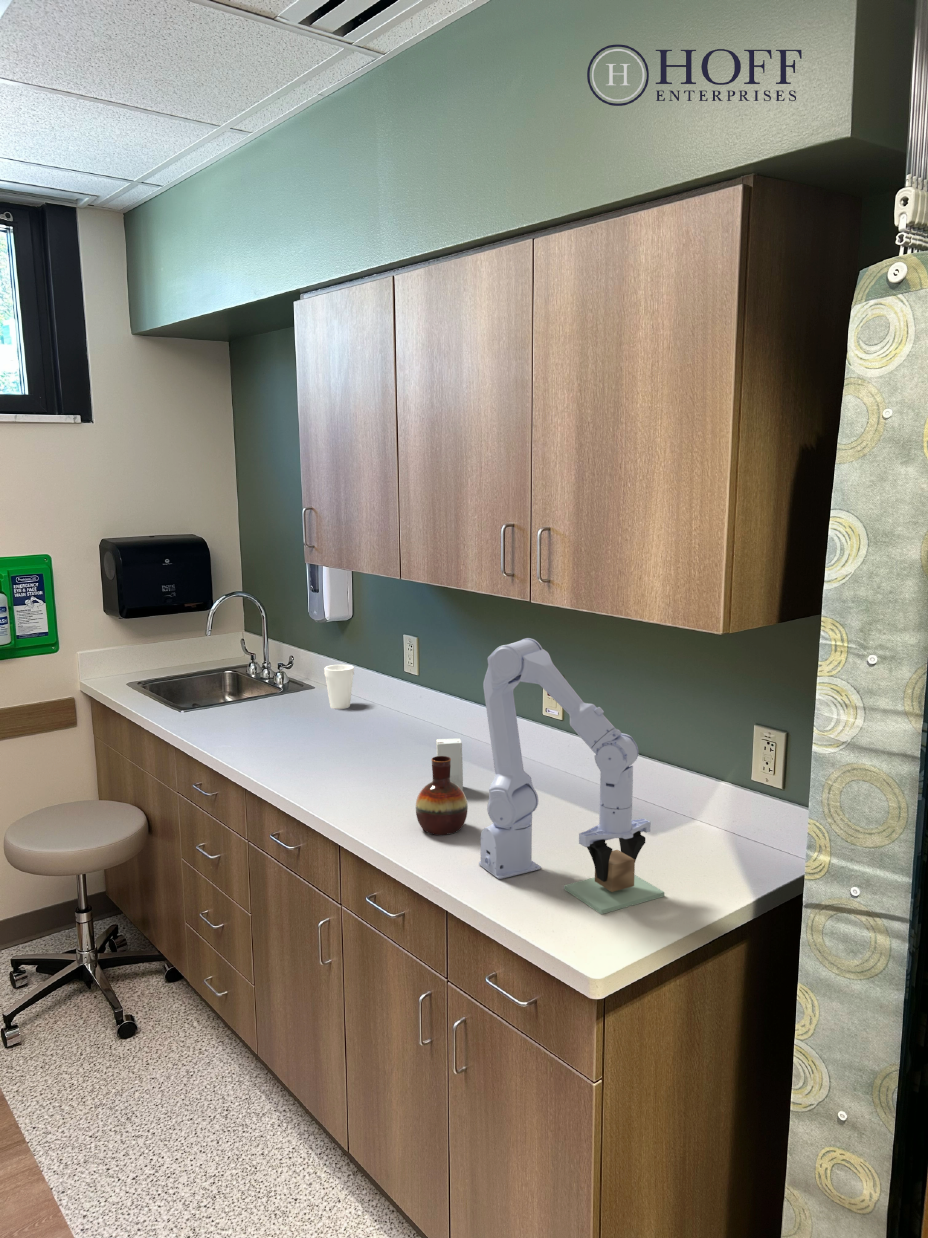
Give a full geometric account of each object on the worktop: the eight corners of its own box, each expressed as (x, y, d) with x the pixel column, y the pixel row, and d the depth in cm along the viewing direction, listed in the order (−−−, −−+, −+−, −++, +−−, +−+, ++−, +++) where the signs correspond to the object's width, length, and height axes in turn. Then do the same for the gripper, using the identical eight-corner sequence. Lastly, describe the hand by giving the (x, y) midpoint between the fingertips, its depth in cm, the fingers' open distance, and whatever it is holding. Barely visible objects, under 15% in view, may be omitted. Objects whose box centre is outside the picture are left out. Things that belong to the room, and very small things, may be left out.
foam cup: (323, 704, 304) (322, 665, 302) (351, 702, 306) (350, 663, 304) (328, 711, 295) (327, 671, 293) (356, 709, 297) (355, 669, 295)
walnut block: (611, 892, 163) (612, 865, 162) (594, 881, 167) (595, 855, 166) (634, 886, 165) (634, 859, 164) (616, 875, 169) (617, 849, 169)
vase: (406, 833, 194) (405, 763, 192) (430, 815, 204) (429, 748, 202) (454, 841, 190) (454, 769, 187) (475, 823, 200) (475, 754, 197)
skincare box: (461, 785, 224) (461, 737, 222) (463, 791, 220) (463, 742, 218) (436, 786, 223) (435, 738, 221) (437, 792, 219) (437, 743, 217)
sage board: (601, 914, 158) (601, 910, 158) (564, 889, 168) (564, 885, 168) (664, 896, 165) (664, 892, 165) (625, 873, 174) (625, 869, 174)
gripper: (596, 818, 157) (595, 893, 159) (662, 803, 164) (660, 875, 166) (572, 805, 163) (571, 878, 165) (637, 791, 170) (635, 861, 172)
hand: (614, 876), depth 166 cm, fingers closed on walnut block, 5 cm apart
